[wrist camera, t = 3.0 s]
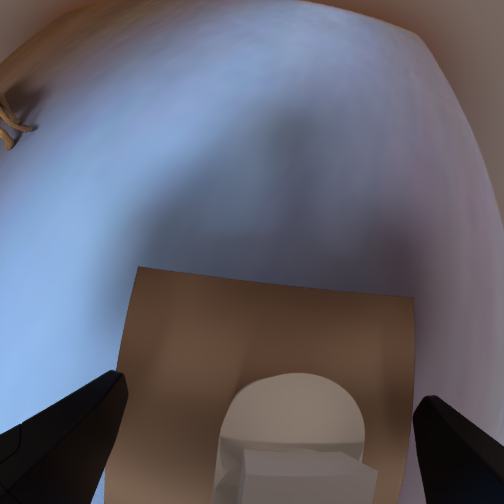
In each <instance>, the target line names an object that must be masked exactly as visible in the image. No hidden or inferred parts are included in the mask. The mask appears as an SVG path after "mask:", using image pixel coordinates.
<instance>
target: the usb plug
mask: <svg viewBox="0 0 504 504" xmlns="http://www.w3.org/2000/svg"><path fill="white" fill-rule="evenodd" d="M364 441H365V427H364V421H363V417H362V414H361V412H360V409H359V407H358V405H357V404H356V402H355V400H354V399H353V398H352V397H351V395H350V394H349V393H348V392H347V391H346V390H345V389H343V388H342V387H341V386H339V385H338V384H337V383H335V382H333V381H331V380H329V379H327V378H324V377H322V376H318V375H314V374H307V373H289V374H282V375H278V376H274V377H269V378H265V379H260V380H257V381H254V382H251V383H249V384H248V385H246V386H244V387H243V388H242V389H241V390H240V391H239V392H238V393H237V394H236V395H235V397H234V398H233V400H232V402H231V404H230V406H229V409H228V411H227V414H226V416H225V418H224V421H223V424H222V427H221V431H220V436H219V443H218V452H217V460H216V468H215V476H214V485H213V493H212V502H211V504H372V501H373V496H374V491H375V486H376V481H377V475H378V471H377V470H375V469H373V468H371V467H369V466H367V465H365V464H363V463H361V462H362V456H363V449H364Z"/></svg>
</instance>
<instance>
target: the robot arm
mask: <svg viewBox="0 0 504 504" xmlns="http://www.w3.org/2000/svg"><path fill="white" fill-rule="evenodd" d="M128 396H129V392H128V387H127V383H126V378H125V375H124V373H122V372H118V371H115V370H110V371H108V372H106V373H104V374H103V375H101V376H99V377H98V378H96V379H95V380H93V381H91V382H90V383H88V384H86V385H85V386H83V387H81V388H80V389H78V390H76V391H75V392H73V393H71V394H70V395H68V396H66V397H65V398H63V399H61V400H60V401H58V402H56V403H55V404H53V405H51V406H50V407H48V408H46V409H45V410H43V411H41V412H39V413H38V414H36V415H34V416H33V417H31V418H29V419H27V420H26V421H24V422H22V424H19V425H17V426H15V427H13V428H12V429H10V430H8V431H6V432H4V433H2V434H0V504H91V501H92V499H93V496H94V493H95V491H96V488H97V486H98V483H99V481H100V478H101V476H102V473H103V471H104V468H105V466H106V463H107V461H108V458H109V456H110V454H111V451H112V449H113V446H114V444H115V441H116V438H117V435H118V432H119V428H120V425H121V421H122V418H123V414H124V411H125V407H126V404H127V401H128ZM413 426H414V434H415V441H416V450H417V457H418V463H419V467H420V472H421V477H422V482H423V487H424V492H425V498H426V504H504V446H502V445H501V444H500V443H498V442H497V441H496V440H495V439H493V438H492V437H491V436H489V435H488V434H487V433H485V432H484V431H483V430H481V429H480V428H479V427H477V426H476V425H475V424H473V423H472V422H471V421H469V420H468V419H467V418H465V417H464V416H463V415H461V414H460V413H459V412H457V411H456V410H455V409H453V408H452V407H451V406H450V405H448V404H447V403H446V402H444V401H443V400H442V399H440V398H439V397H438V396H436V395H431V396H425V397H424V398H423V399H422V400H421V402H420V404H419V405H418V407H417V409H416V410H415V412H414V414H413Z"/></svg>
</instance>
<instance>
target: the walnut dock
mask: <svg viewBox="0 0 504 504" xmlns="http://www.w3.org/2000/svg"><path fill="white" fill-rule="evenodd" d="M116 371H118V372H122V373H124V375H125V378H126V383H127V387H128V392H129V396H128V401H127V404H126V407H125V411H124V414H123V418H122V421H121V425H120V428H119V432H118V435H117V438H116V441H115V444H114V446H113V449H112V451H111V454H110V456H109V458H108V461H107V463H106V466H105V490H104V504H211V502H212V493H213V485H214V476H215V468H216V460H217V452H218V443H219V436H220V431H221V427H222V424H223V421H224V418H225V416H226V414H227V411H228V409H229V406H230V404H231V402H232V400H233V398H234V397H235V395H236V394H237V393H238V392H239V391H240V390H241V389H242V388H243V387H244V386H246V385H248V384H249V383H251V382H254V381H257V380H260V379H265V378H269V377H274V376H278V375H282V374H289V373H307V374H314V375H318V376H322V377H324V378H327V379H329V380H331V381H333V382H335V383H337V384H338V385H339V386H341V387H342V388H343V389H345V390H346V391H347V392H348V393H349V394H350V395H351V397H352V398H353V399H354V400H355V402H356V404H357V405H358V407H359V409H360V412H361V414H362V417H363V421H364V427H365V441H364V449H363V456H362V462H361V463H363V464H365V465H367V466H369V467H371V468H373V469H375V470H377V471H378V475H377V481H376V486H375V491H374V496H373V501H372V504H398V500H399V496H400V491H401V486H402V481H403V476H404V471H405V465H406V459H407V452H408V445H409V438H410V429H411V420H412V409H413V395H414V373H415V324H414V302H413V298H410V297H398V296H386V295H374V294H363V293H353V292H342V291H332V290H322V289H313V288H303V287H294V286H285V285H276V284H267V283H259V282H251V281H242V280H234V279H226V278H218V277H211V276H203V275H196V274H188V273H181V272H174V271H166V270H159V269H153V268H146V267H139V266H138V270H137V273H136V277H135V281H134V285H133V289H132V294H131V298H130V302H129V307H128V311H127V316H126V320H125V325H124V330H123V335H122V340H121V345H120V351H119V356H118V362H117V368H116Z"/></svg>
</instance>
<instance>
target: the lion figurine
mask: <svg viewBox="0 0 504 504" xmlns="http://www.w3.org/2000/svg"><path fill="white" fill-rule="evenodd" d="M0 117H1V118H2V119H3V120H4V121H5V122H6V123H7V124H8V125H10V126H11V127H13V128H15V129H17V130H20V131H23V132H25V133H27V132H30V131H31V130H32V129H33V127H32V126H26V125H19V124H20V122H21V120H20V119H19V118H18V119H17V118H16V116H15V115H13V113H12V111H11V110H10V107H9V105H8V103H7V101H6V99H5V97H4V96H3V94H2V93H1V92H0ZM0 138H2V139H3V140H4V141H5V142H6V144H5V148H6V150H9V149H11V148H12V146H13V145H14V140H13V139H12V137H10V136H9V134H8V133H7V132H6V131H5V130H3V129H2V128H0Z"/></svg>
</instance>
